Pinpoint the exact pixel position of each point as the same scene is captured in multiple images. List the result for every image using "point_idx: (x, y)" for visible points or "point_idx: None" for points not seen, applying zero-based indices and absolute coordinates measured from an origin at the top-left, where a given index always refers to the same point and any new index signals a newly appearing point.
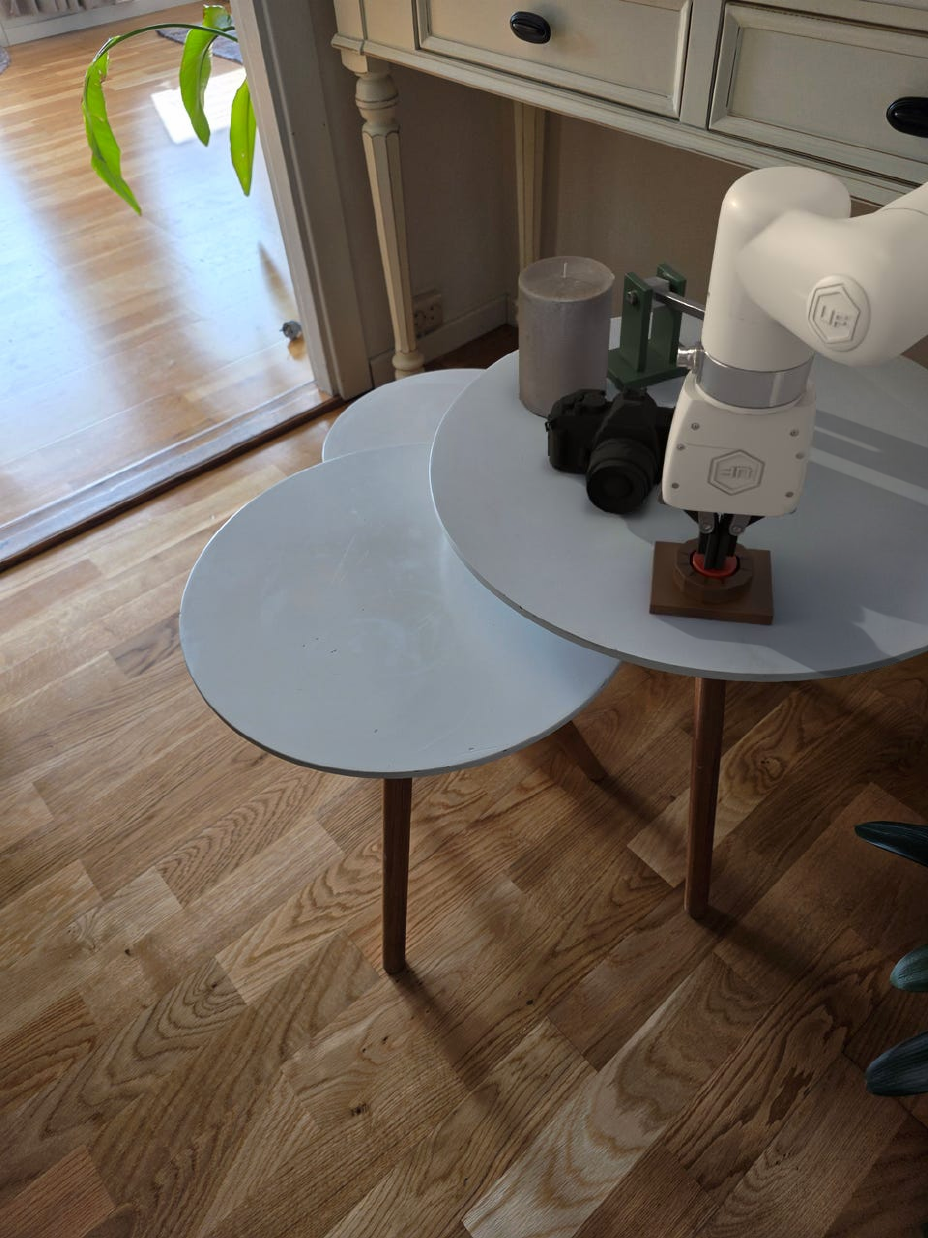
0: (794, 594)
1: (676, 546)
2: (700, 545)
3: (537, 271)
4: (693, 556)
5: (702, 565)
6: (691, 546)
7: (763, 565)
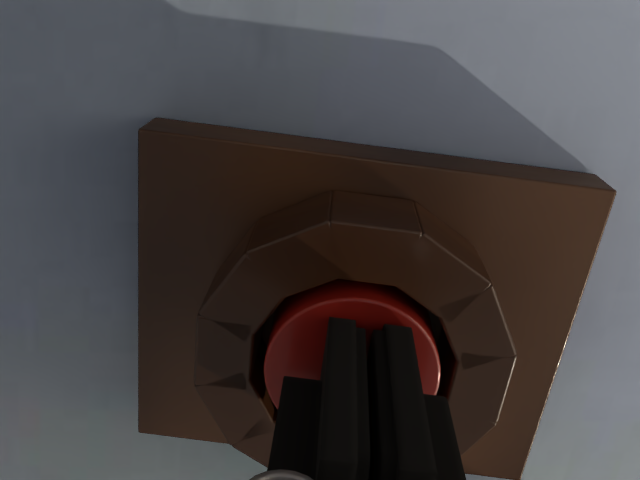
0: (71, 263)
1: None
2: (444, 430)
3: None
4: None
5: None
6: None
7: (163, 370)
